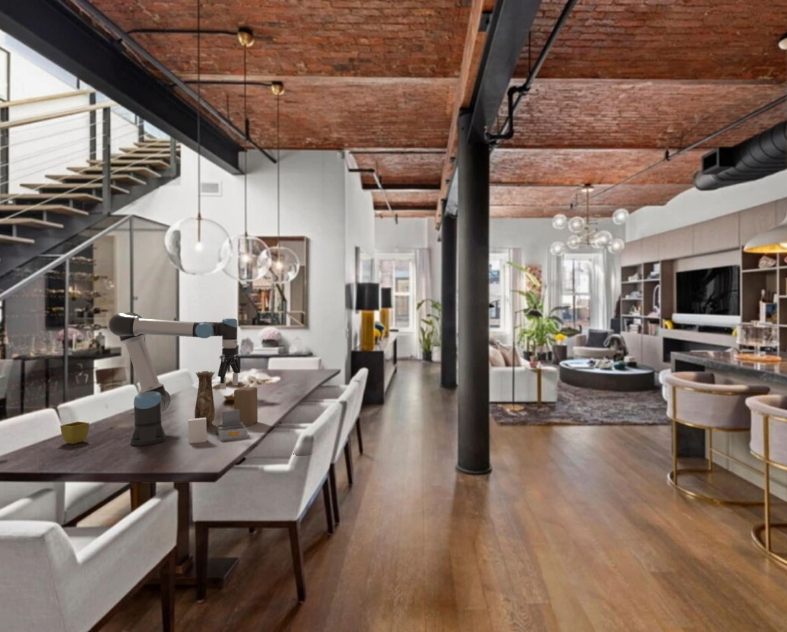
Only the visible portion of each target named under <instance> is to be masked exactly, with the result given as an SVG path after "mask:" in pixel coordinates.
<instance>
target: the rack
mask: <svg viewBox="0 0 787 632" xmlns="http://www.w3.org/2000/svg"><path fill="white" fill-rule="evenodd" d="M221 421H222V423H221V424H217V435H218V438H219V440H220V442H227V441H234V440H241V439H248V436H249V435H248V433H249V432H248V428H247V427H246V426H245V424H244V425H243V422H240V411H239V409H225V410H224V409H223V410H222V419H221Z"/></svg>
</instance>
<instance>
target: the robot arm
mask: <svg viewBox="0 0 787 632" xmlns="http://www.w3.org/2000/svg"><path fill="white" fill-rule="evenodd" d="M108 328H109V331H110V332H111V333H112V334H113V335H114V336H118V337H119V341H120V342H121V343H123V344H125V346H126V350H127V353H128V354H129V358H130V360H131V363H132V366H133V369H134V371H135V375H136V378H137V380H138V384H139V386H140V390H139V392H138V393H137V394H136V395H135V396H134V398H133V409H134V410H133V416H134V419H133V420H134V423H133V424H134V427H133V431H132V433H131V436H130V445H132V446H135V447H136V446H140V447H142V446H151V445H155V444H157V445H158V444H159V443H162V442H164V441H166V439H167V438H166V432H165V430H164V427H163V424H162V413H163V412H165V411H166V410H167V409H168V408H169V406H170V404H171V399H172V397H171V395H170V393H169V392H168V391H167V390H166V388H165V386H164V384H163V383H161V382H160V381H159V378H158V375H157V373H156V370H155V367H154V366H155V365H154V364H153V362H152V361H153V360H152V359H151V355H150V353H149V349H148V347H147V344H146V341H145V338H146V335H147V336H148V335H153V336H165V337H166V336H168V337H169V336H170V337H171V336H172V337H183V338H184V337H188V338H189V337H190V338H200V339H208V338H210V337H222V339H221V341H222V342H221V347H222V348H221V355H223V356H224V357H221V358H220V364H219V369H218V372H217V377H218V378H219V379H220V380H219V381H220V382H219V384H220V385H219V389H220V390H226V389H227V376H226V374H227V372H228V370H229V367H231V369H232V372H233V373H232V386H239V374H240V373H241V367H240V363H239V358H238V357H239V356H238V355H237V354H238V348H237V347H238V320H237V318H222V320H221V321H220V322H219V321H216V322H213V321H201V322H197V321H196V322H195V321H185V320H184V321H182V320H169V319H168V320H165V319H155V318H154V319H151V318H143V317H142V316H141V315H140V314H138V313H136V312H119V313H116V314H114V315H112V316H111V318H110V319H109V320H108Z"/></svg>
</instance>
